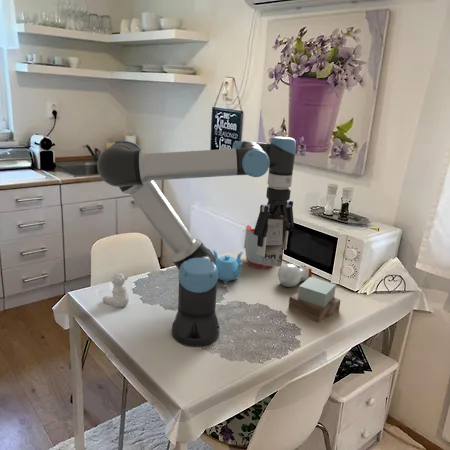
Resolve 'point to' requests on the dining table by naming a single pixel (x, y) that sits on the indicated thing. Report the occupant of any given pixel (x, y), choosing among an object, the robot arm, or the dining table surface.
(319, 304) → the tower top
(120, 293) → the sitting furry creature
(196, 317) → the robot arm
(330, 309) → the tower base
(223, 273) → the teapot
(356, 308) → the dining table surface
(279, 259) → the coffee box
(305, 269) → the potion bottle
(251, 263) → the citrus juicer
